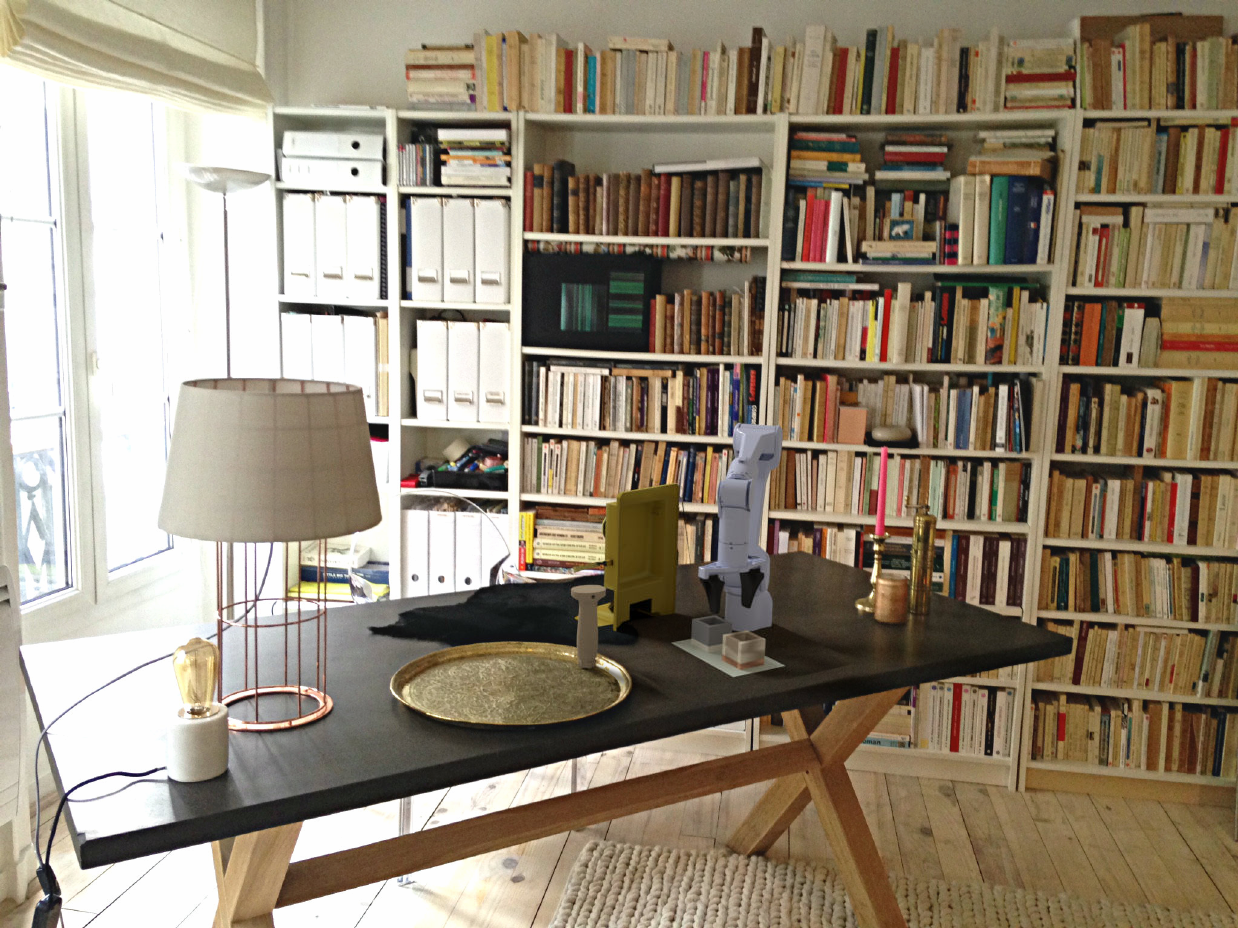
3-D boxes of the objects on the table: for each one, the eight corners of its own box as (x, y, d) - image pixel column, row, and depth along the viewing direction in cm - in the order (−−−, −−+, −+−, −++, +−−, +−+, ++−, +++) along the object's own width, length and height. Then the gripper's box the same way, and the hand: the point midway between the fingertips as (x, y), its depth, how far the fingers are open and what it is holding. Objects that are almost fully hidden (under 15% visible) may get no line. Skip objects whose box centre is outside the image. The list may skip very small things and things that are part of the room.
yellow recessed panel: (653, 597, 233) (657, 469, 227) (699, 612, 223) (704, 478, 218) (550, 627, 211) (552, 485, 206) (596, 644, 201) (600, 496, 196)
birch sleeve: (745, 655, 193) (746, 630, 192) (764, 664, 188) (765, 639, 187) (721, 660, 190) (723, 634, 189) (740, 669, 185) (741, 643, 184)
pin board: (720, 640, 205) (721, 616, 204) (784, 673, 188) (786, 647, 187) (671, 649, 199) (672, 625, 198) (733, 684, 182) (734, 658, 181)
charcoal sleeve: (714, 639, 201) (715, 615, 200) (731, 647, 197) (732, 623, 196) (691, 643, 198) (692, 619, 198) (707, 652, 194) (709, 627, 193)
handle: (607, 668, 188) (609, 590, 186) (575, 672, 186) (576, 594, 183) (597, 659, 193) (599, 583, 190) (566, 663, 190) (567, 586, 188)
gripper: (715, 550, 185) (712, 621, 188) (776, 541, 193) (773, 610, 195) (693, 541, 191) (690, 610, 193) (753, 533, 199) (750, 600, 201)
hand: (730, 609), depth 195 cm, fingers open, 7 cm apart
